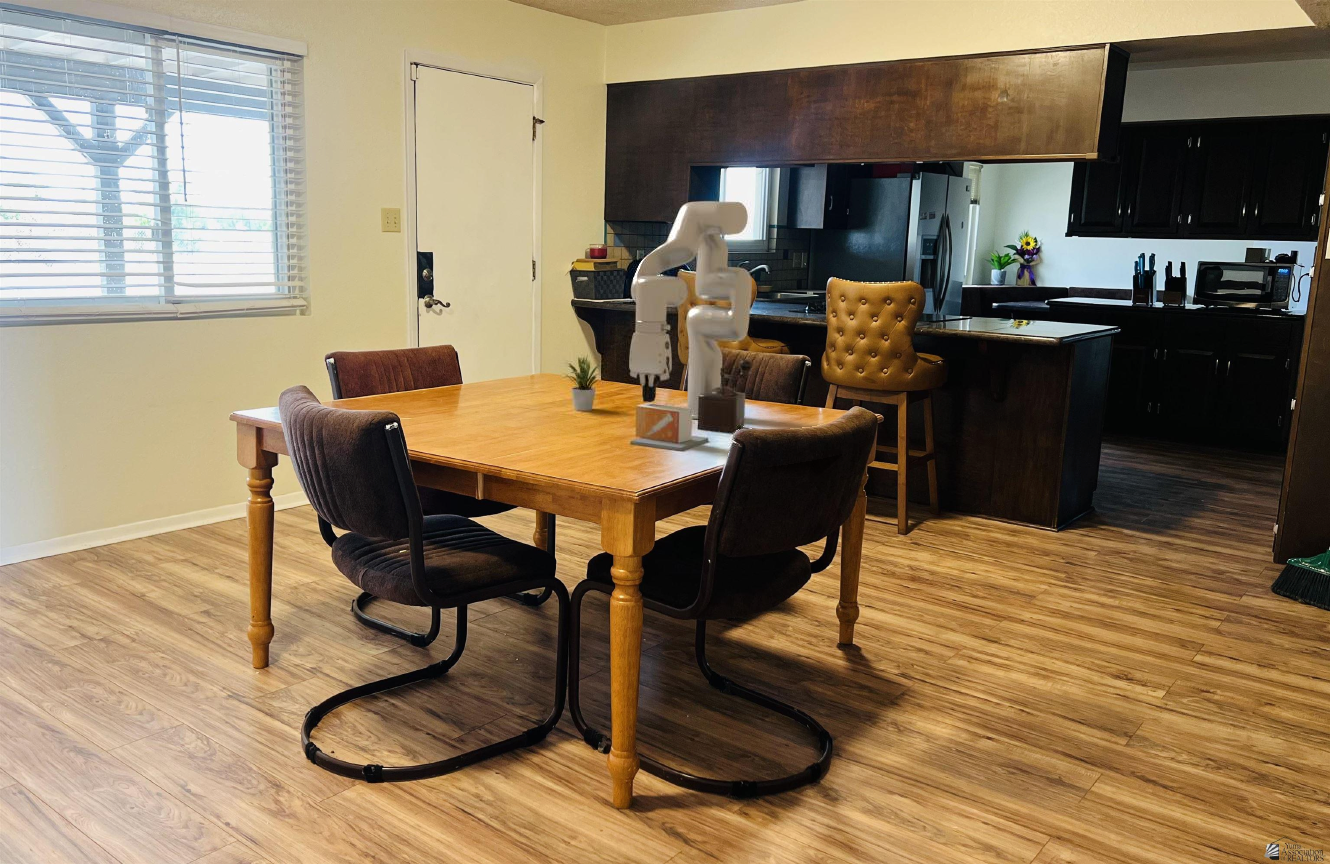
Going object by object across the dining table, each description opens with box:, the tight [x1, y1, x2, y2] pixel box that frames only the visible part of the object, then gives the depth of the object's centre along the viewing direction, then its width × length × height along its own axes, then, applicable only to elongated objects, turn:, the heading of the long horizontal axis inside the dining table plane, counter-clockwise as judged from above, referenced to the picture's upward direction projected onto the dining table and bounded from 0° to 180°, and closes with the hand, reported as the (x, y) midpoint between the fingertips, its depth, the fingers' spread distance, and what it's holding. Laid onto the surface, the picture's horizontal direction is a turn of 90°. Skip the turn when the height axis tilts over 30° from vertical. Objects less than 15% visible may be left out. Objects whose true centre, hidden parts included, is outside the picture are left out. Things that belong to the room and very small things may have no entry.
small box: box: [635, 402, 693, 443], centre depth 255 cm, size 8×6×13 cm
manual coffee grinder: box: [697, 359, 754, 434], centre depth 276 cm, size 16×11×18 cm
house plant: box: [561, 355, 603, 412], centre depth 298 cm, size 14×14×16 cm
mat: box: [629, 435, 709, 452], centre depth 255 cm, size 15×14×1 cm
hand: (648, 401), depth 257 cm, fingers closed
